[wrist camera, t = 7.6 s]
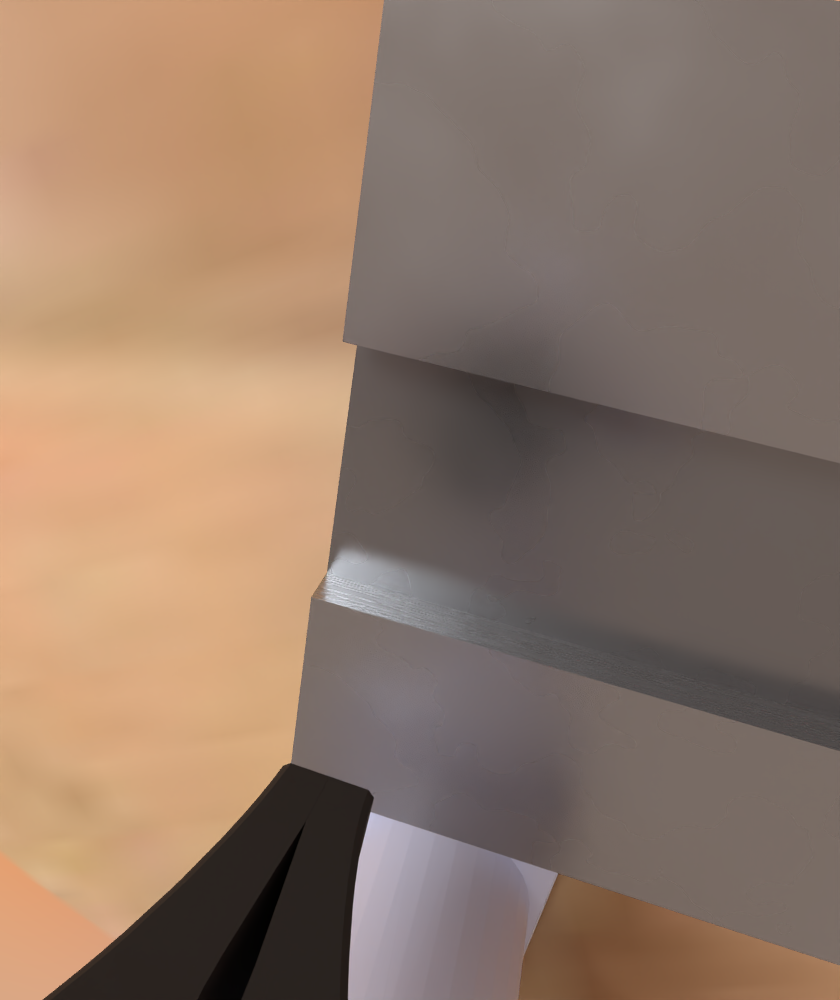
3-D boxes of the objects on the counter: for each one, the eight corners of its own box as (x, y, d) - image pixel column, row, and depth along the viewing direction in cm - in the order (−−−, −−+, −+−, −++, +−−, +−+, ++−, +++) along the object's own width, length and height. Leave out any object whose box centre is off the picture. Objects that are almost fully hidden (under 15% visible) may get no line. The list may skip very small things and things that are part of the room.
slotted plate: (810, 827, 21) (847, 967, 17) (339, 683, 23) (288, 785, 19) (1271, 117, 12) (1528, 118, 9) (449, -27, 14) (393, -75, 11)
